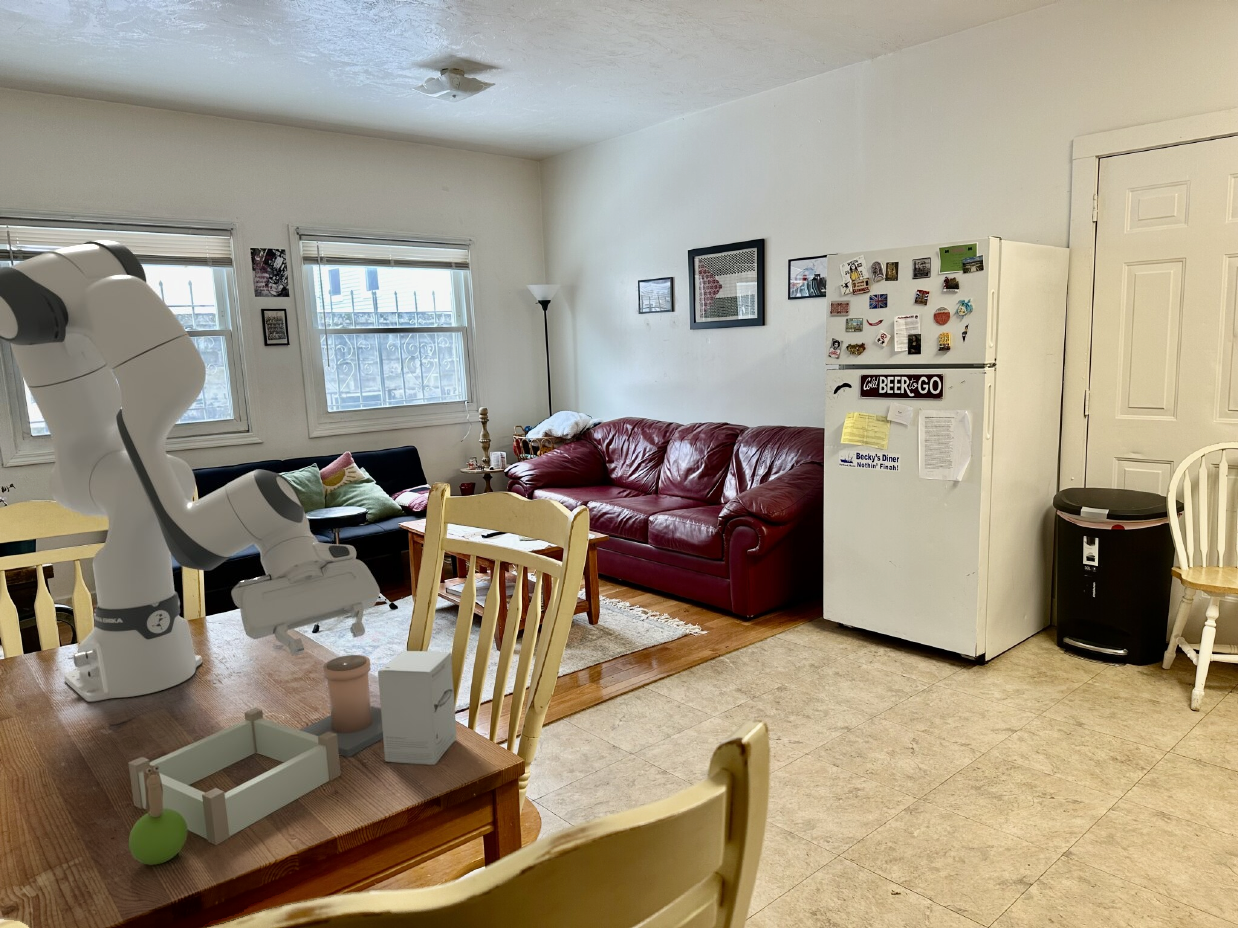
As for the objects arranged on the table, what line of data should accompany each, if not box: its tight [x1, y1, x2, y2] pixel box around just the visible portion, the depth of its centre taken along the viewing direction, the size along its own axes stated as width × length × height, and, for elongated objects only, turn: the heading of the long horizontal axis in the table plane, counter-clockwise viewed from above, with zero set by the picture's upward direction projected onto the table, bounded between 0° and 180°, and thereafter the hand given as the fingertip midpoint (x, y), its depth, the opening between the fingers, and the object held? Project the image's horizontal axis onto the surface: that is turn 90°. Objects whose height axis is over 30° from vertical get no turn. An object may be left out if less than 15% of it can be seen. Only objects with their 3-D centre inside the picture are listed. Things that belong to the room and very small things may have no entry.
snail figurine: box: [128, 765, 188, 865], centre depth 87 cm, size 5×6×12 cm
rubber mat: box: [299, 705, 383, 758], centre depth 116 cm, size 11×11×1 cm
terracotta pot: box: [322, 654, 372, 733], centre depth 115 cm, size 6×6×9 cm
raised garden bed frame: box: [128, 707, 342, 846], centre depth 101 cm, size 17×17×6 cm
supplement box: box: [377, 650, 458, 766], centre depth 109 cm, size 7×7×13 cm
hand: (330, 643), depth 123 cm, fingers open, 8 cm apart
